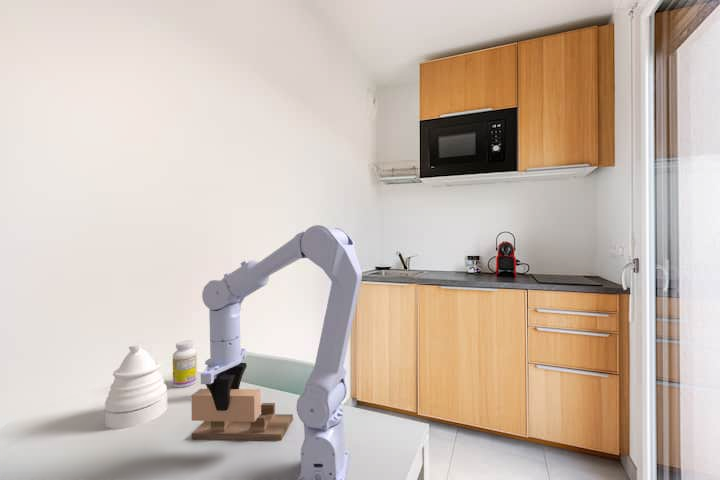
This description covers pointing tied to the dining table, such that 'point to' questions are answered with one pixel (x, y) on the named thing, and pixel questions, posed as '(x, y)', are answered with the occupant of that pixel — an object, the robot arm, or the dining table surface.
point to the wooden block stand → (247, 427)
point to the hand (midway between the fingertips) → (226, 405)
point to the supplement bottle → (184, 364)
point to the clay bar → (240, 406)
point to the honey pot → (136, 391)
